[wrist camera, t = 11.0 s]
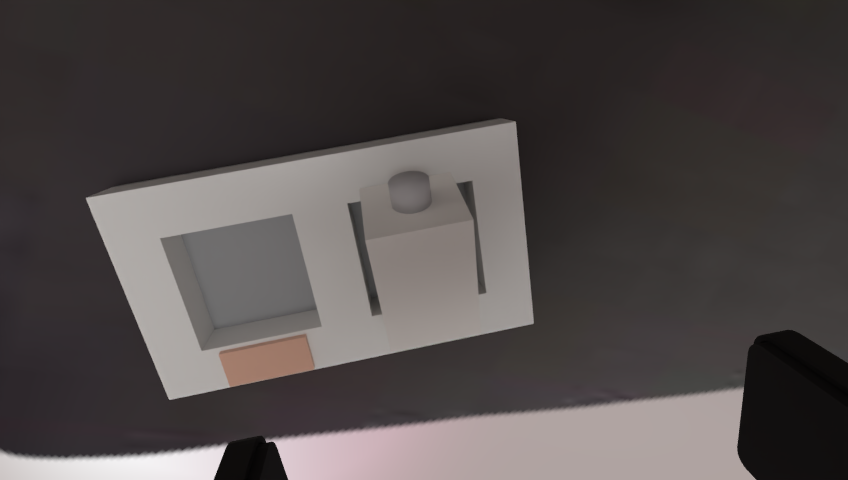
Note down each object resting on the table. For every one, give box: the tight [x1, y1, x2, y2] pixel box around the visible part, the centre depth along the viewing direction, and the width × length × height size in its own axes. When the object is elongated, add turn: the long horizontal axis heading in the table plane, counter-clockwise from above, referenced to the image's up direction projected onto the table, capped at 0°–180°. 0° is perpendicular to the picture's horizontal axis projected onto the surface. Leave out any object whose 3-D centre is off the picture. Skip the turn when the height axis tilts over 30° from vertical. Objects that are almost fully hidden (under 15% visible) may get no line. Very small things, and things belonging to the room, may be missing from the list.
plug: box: [359, 171, 481, 353], centre depth 20 cm, size 4×4×7 cm
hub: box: [86, 118, 534, 400], centre depth 22 cm, size 18×10×3 cm, turn 99°
